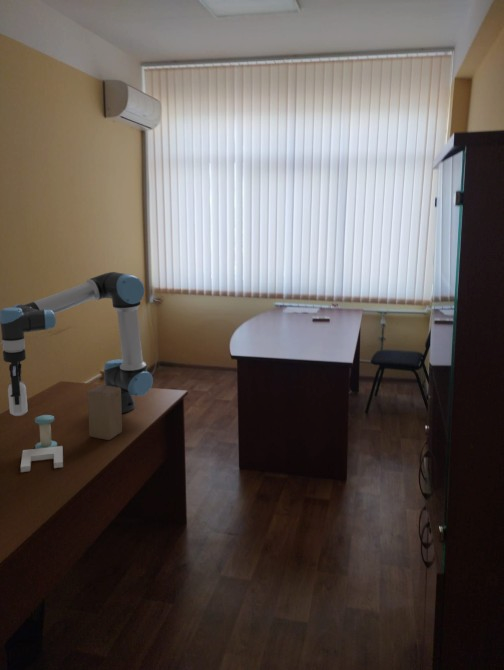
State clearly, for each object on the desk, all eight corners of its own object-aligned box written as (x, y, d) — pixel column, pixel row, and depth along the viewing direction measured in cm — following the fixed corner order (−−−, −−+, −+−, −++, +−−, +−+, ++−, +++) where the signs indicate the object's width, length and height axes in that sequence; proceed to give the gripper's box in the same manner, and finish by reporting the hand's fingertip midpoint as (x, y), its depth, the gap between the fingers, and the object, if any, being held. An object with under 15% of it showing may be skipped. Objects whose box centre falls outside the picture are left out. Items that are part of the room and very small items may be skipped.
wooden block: (123, 432, 225) (121, 386, 221) (109, 441, 216) (107, 394, 212) (102, 428, 228) (101, 383, 224) (88, 437, 219) (86, 390, 215)
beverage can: (16, 418, 199) (14, 387, 196) (6, 414, 202) (3, 384, 199) (31, 412, 204) (29, 382, 201) (21, 409, 207) (18, 379, 205)
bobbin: (57, 441, 214) (55, 413, 211) (57, 450, 207) (55, 421, 204) (35, 444, 212) (33, 415, 209) (34, 452, 204) (32, 423, 202)
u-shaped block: (62, 450, 207) (62, 445, 206) (62, 467, 194) (62, 461, 193) (23, 455, 202) (23, 450, 202) (20, 472, 189) (20, 466, 189)
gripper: (5, 344, 205) (9, 401, 210) (0, 357, 187) (5, 419, 193) (26, 343, 208) (30, 399, 213) (23, 355, 190) (28, 417, 195)
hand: (18, 408), depth 203 cm, fingers closed on beverage can, 6 cm apart
